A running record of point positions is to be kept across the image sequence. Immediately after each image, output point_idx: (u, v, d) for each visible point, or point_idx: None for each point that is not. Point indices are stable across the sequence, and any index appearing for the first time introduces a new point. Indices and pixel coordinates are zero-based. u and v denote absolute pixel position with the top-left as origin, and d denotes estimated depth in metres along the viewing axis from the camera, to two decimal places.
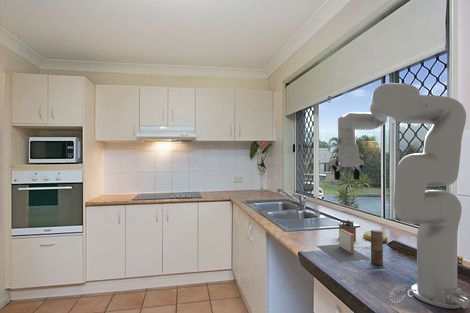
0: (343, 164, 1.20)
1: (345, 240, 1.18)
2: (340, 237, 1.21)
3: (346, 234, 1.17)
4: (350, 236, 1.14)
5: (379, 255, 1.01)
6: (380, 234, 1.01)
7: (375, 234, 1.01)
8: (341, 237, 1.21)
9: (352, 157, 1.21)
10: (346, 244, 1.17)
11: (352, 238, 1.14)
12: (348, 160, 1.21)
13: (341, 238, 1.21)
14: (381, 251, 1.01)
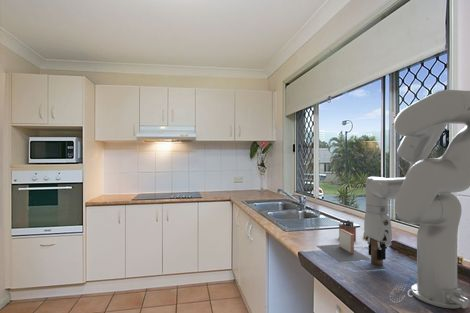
0: None
1: (345, 240, 1.18)
2: (340, 237, 1.21)
3: (346, 234, 1.17)
4: (350, 236, 1.14)
5: None
6: None
7: None
8: (341, 237, 1.21)
9: None
10: (346, 244, 1.17)
11: (352, 238, 1.14)
12: None
13: (341, 238, 1.21)
14: None
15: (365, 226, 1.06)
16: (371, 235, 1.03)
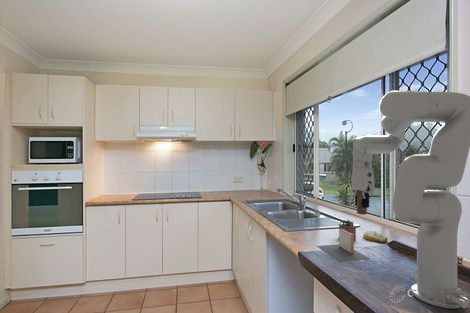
0: None
1: (345, 240, 1.18)
2: (340, 237, 1.21)
3: (346, 234, 1.17)
4: (350, 236, 1.14)
5: None
6: None
7: None
8: (341, 237, 1.21)
9: None
10: (346, 244, 1.17)
11: (352, 238, 1.14)
12: None
13: (341, 238, 1.21)
14: None
15: (352, 181, 1.22)
16: (357, 187, 1.19)
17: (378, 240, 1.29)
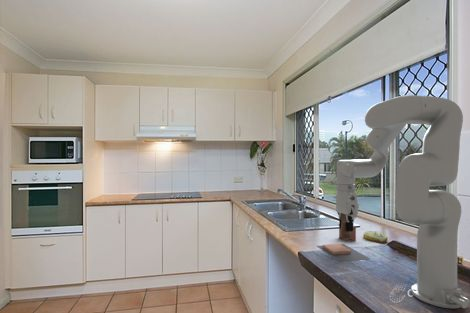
0: None
1: None
2: None
3: None
4: None
5: None
6: None
7: None
8: None
9: None
10: None
11: (337, 253, 1.12)
12: None
13: None
14: None
15: (336, 203, 1.21)
16: (341, 210, 1.18)
17: (378, 240, 1.29)
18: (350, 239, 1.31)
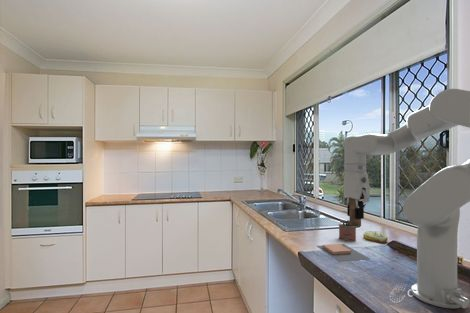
0: None
1: None
2: None
3: None
4: None
5: None
6: None
7: None
8: None
9: None
10: None
11: (337, 253, 1.12)
12: None
13: None
14: None
15: (344, 187, 1.04)
16: (349, 195, 1.01)
17: (378, 240, 1.29)
18: (350, 239, 1.31)
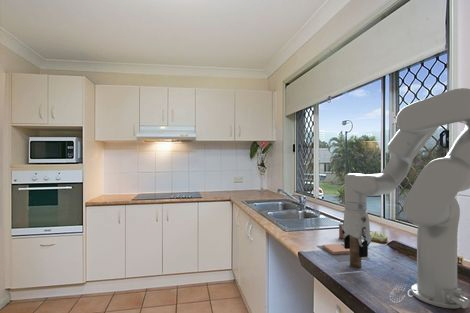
0: None
1: None
2: None
3: None
4: None
5: (357, 257, 0.99)
6: None
7: None
8: None
9: None
10: None
11: (337, 253, 1.12)
12: None
13: None
14: None
15: (344, 223, 1.04)
16: (350, 232, 1.01)
17: (378, 240, 1.29)
18: None
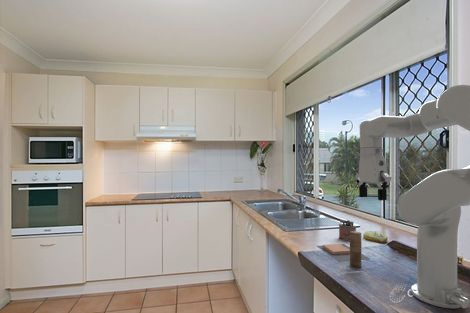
0: None
1: None
2: None
3: None
4: None
5: (357, 257, 0.99)
6: (358, 235, 0.99)
7: (353, 235, 1.00)
8: None
9: None
10: None
11: (337, 253, 1.12)
12: None
13: None
14: (359, 253, 0.99)
15: (360, 172, 1.04)
16: (366, 179, 1.00)
17: (378, 240, 1.29)
18: None
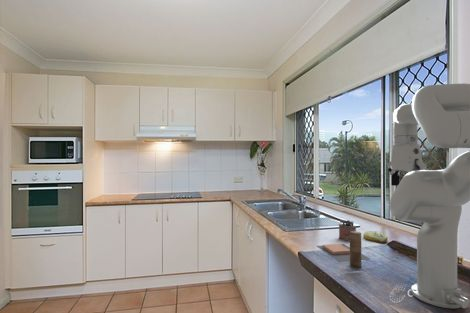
0: None
1: None
2: None
3: None
4: None
5: (357, 257, 0.99)
6: (358, 235, 0.99)
7: (353, 235, 1.00)
8: None
9: None
10: None
11: (337, 253, 1.12)
12: None
13: None
14: (359, 253, 0.99)
15: (393, 160, 1.04)
16: (400, 167, 1.00)
17: (378, 240, 1.29)
18: None
